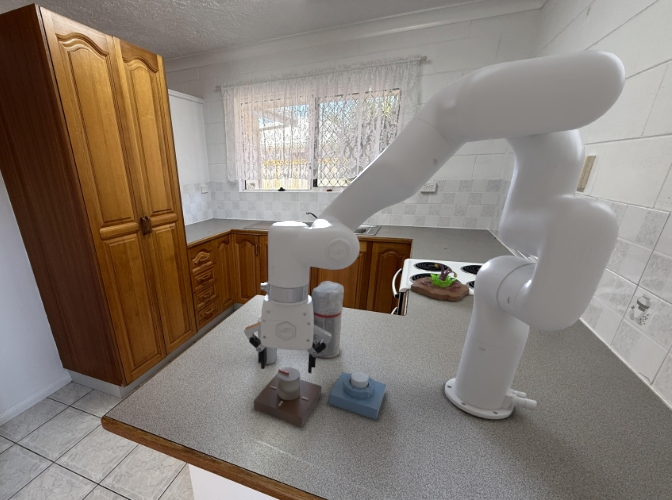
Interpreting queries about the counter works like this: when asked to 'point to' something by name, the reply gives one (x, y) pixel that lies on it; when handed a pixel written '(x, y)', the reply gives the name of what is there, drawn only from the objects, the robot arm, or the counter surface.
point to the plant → (441, 286)
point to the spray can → (328, 315)
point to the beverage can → (269, 350)
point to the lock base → (288, 402)
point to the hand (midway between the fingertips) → (286, 367)
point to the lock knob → (288, 383)
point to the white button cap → (359, 380)
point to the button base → (358, 396)
